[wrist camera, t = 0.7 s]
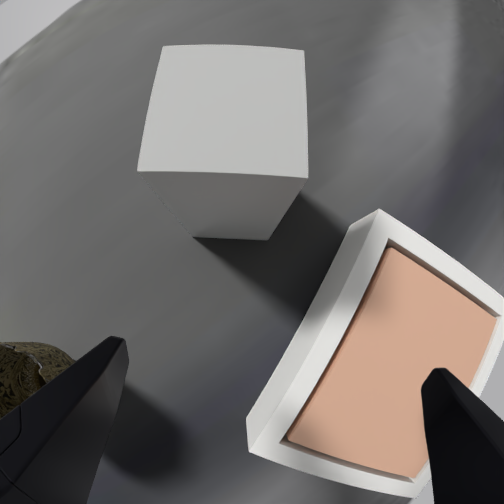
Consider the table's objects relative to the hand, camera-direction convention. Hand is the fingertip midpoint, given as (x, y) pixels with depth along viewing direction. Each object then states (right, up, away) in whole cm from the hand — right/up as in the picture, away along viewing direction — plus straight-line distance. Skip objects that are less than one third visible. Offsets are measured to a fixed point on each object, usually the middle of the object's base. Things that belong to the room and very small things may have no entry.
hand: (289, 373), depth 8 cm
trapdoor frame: (+8, -5, +13) cm, 16 cm away
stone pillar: (-2, +7, +14) cm, 15 cm away
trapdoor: (+8, -5, +13) cm, 16 cm away
